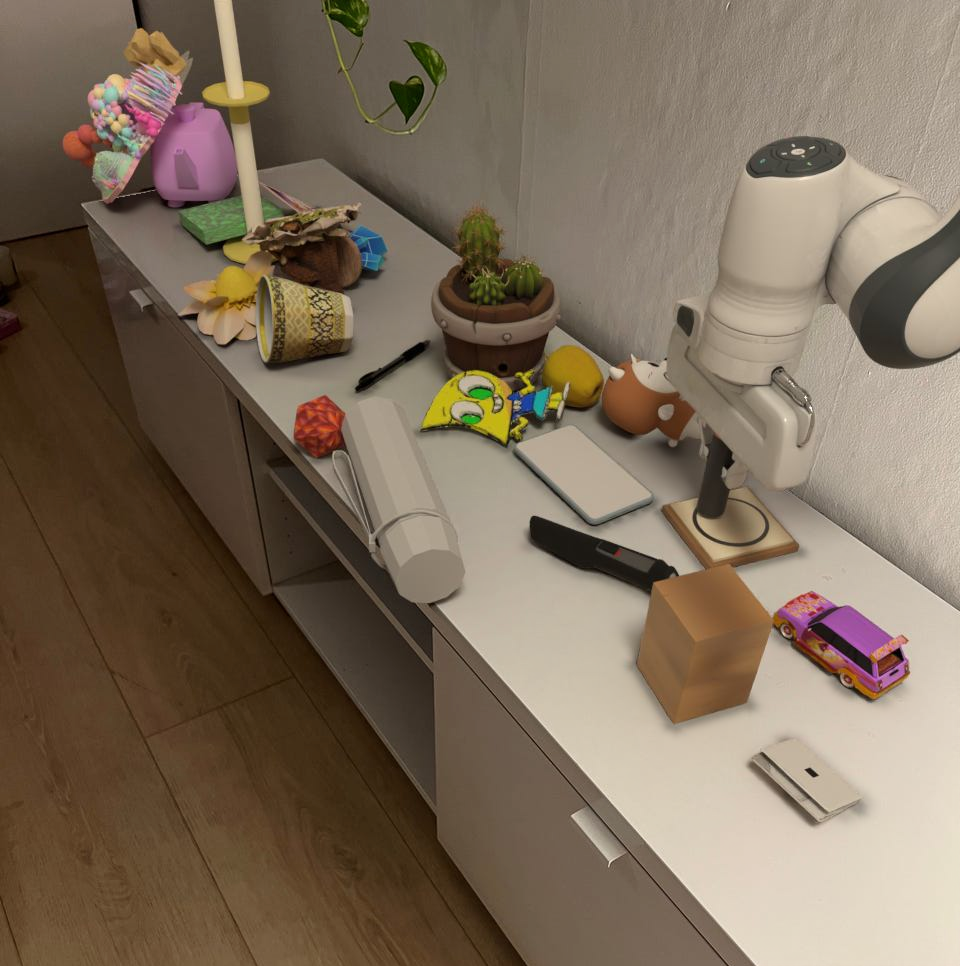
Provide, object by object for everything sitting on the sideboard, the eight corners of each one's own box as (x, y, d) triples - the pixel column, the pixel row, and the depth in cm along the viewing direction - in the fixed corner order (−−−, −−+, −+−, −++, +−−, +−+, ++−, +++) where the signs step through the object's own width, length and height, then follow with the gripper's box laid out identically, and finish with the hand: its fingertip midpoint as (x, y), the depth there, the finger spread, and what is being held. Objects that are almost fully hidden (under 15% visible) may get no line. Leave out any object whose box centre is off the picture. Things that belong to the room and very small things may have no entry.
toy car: (805, 602, 93) (818, 565, 90) (909, 681, 86) (928, 645, 83) (763, 626, 91) (775, 589, 87) (867, 709, 84) (884, 673, 81)
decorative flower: (329, 299, 127) (308, 338, 136) (275, 226, 126) (258, 269, 135) (234, 349, 120) (219, 385, 129) (177, 271, 119) (166, 313, 128)
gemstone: (309, 287, 134) (348, 259, 143) (367, 288, 131) (403, 260, 140) (298, 230, 130) (339, 205, 138) (358, 230, 127) (395, 205, 136)
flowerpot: (581, 387, 117) (599, 219, 103) (471, 425, 112) (473, 252, 97) (513, 333, 126) (521, 170, 111) (407, 365, 120) (401, 198, 106)
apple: (598, 385, 109) (538, 346, 110) (577, 428, 114) (520, 390, 115) (622, 360, 113) (565, 323, 114) (601, 402, 118) (546, 366, 119)
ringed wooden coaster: (745, 492, 104) (748, 481, 104) (797, 551, 98) (801, 541, 97) (661, 511, 102) (663, 500, 101) (708, 573, 96) (711, 563, 95)
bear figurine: (218, 237, 122) (250, 335, 128) (324, 217, 117) (352, 321, 123) (270, 214, 133) (297, 306, 139) (370, 196, 127) (393, 292, 134)
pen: (348, 382, 115) (349, 390, 116) (359, 387, 115) (360, 395, 116) (422, 333, 123) (422, 342, 124) (433, 338, 123) (433, 346, 124)
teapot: (168, 170, 159) (152, 84, 150) (247, 171, 160) (235, 85, 151) (147, 223, 146) (127, 132, 136) (232, 224, 146) (219, 132, 137)
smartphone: (592, 522, 99) (510, 444, 108) (591, 529, 100) (510, 451, 108) (657, 496, 102) (573, 422, 111) (656, 503, 103) (572, 429, 111)
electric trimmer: (539, 529, 100) (541, 504, 98) (681, 584, 94) (687, 559, 92) (521, 549, 98) (522, 524, 95) (665, 607, 92) (670, 582, 90)
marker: (716, 497, 101) (739, 403, 93) (730, 514, 99) (755, 420, 91) (690, 502, 100) (712, 409, 92) (704, 520, 98) (727, 426, 90)
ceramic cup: (359, 284, 114) (272, 280, 111) (356, 372, 119) (272, 371, 115) (330, 271, 125) (250, 267, 121) (328, 352, 129) (251, 350, 125)
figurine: (723, 388, 102) (626, 330, 104) (675, 463, 104) (581, 405, 107) (731, 397, 111) (641, 343, 113) (686, 466, 113) (599, 412, 116)
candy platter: (178, 63, 155) (123, 18, 149) (214, 45, 136) (153, -8, 130) (97, 203, 157) (40, 164, 151) (121, 205, 138) (58, 160, 132)
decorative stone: (309, 395, 101) (277, 393, 107) (310, 462, 102) (278, 456, 109) (364, 396, 104) (330, 393, 110) (365, 460, 106) (331, 454, 112)
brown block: (706, 646, 89) (729, 563, 82) (746, 703, 84) (774, 620, 77) (636, 665, 87) (653, 582, 80) (673, 724, 83) (695, 641, 75)
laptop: (745, 767, 79) (755, 750, 78) (787, 748, 82) (798, 731, 81) (813, 832, 75) (825, 814, 74) (855, 809, 78) (867, 792, 77)
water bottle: (407, 386, 103) (473, 538, 87) (405, 449, 109) (467, 603, 92) (319, 394, 101) (370, 552, 84) (322, 458, 106) (370, 617, 90)
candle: (243, 228, 145) (195, -84, 118) (305, 239, 143) (271, -76, 116) (209, 257, 139) (150, -66, 111) (274, 269, 137) (230, -57, 109)
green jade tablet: (254, 191, 149) (258, 208, 150) (177, 211, 144) (182, 228, 146) (282, 209, 141) (286, 227, 142) (202, 230, 137) (207, 248, 138)
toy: (550, 454, 107) (419, 427, 110) (551, 457, 108) (420, 431, 111) (572, 373, 110) (443, 349, 112) (572, 377, 111) (444, 353, 113)
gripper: (852, 398, 80) (807, 530, 90) (725, 284, 93) (698, 409, 103) (785, 412, 79) (747, 544, 89) (665, 293, 92) (644, 420, 102)
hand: (720, 471), depth 96 cm, fingers closed on marker, 3 cm apart
